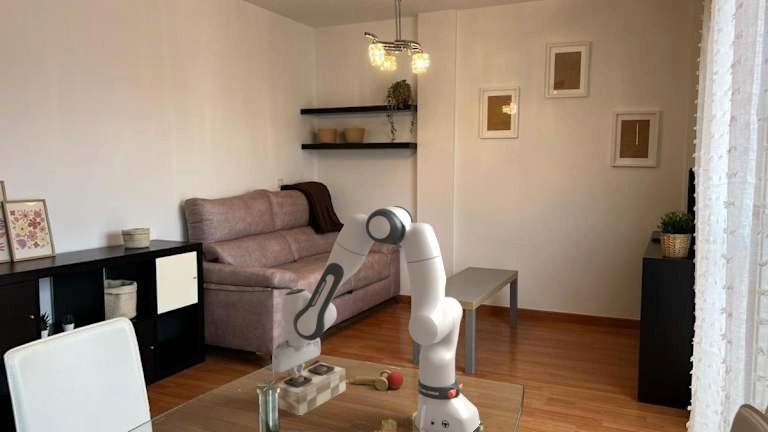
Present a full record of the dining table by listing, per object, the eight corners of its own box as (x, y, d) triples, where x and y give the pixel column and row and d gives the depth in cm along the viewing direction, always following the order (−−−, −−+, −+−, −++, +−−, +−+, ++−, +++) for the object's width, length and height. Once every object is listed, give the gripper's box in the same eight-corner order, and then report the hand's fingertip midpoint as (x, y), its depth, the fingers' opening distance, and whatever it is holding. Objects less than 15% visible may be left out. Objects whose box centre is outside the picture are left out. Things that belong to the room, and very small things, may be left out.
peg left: (307, 400, 195) (306, 376, 194) (299, 404, 192) (298, 380, 191) (298, 397, 198) (297, 373, 197) (290, 401, 194) (289, 377, 193)
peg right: (330, 390, 205) (329, 367, 204) (322, 394, 202) (322, 371, 201) (321, 388, 207) (320, 365, 206) (314, 391, 204) (313, 369, 203)
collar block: (345, 390, 206) (345, 366, 205) (299, 416, 187) (298, 389, 186) (320, 383, 213) (319, 359, 212) (273, 407, 193) (272, 381, 192)
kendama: (353, 392, 208) (400, 390, 202) (351, 374, 208) (399, 372, 203) (360, 387, 215) (406, 386, 210) (359, 370, 216) (404, 368, 210)
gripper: (280, 347, 182) (282, 389, 184) (323, 330, 199) (324, 369, 200) (266, 344, 186) (268, 385, 187) (309, 327, 202) (310, 365, 204)
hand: (297, 376), depth 194 cm, fingers closed, pressing on peg left
